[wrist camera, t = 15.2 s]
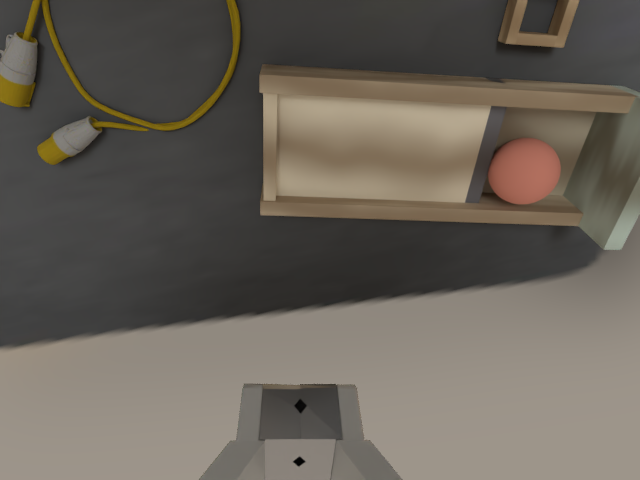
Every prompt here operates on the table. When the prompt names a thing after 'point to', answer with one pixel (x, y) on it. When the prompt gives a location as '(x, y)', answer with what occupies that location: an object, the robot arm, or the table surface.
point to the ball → (524, 171)
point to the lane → (445, 148)
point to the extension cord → (79, 88)
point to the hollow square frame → (551, 39)
